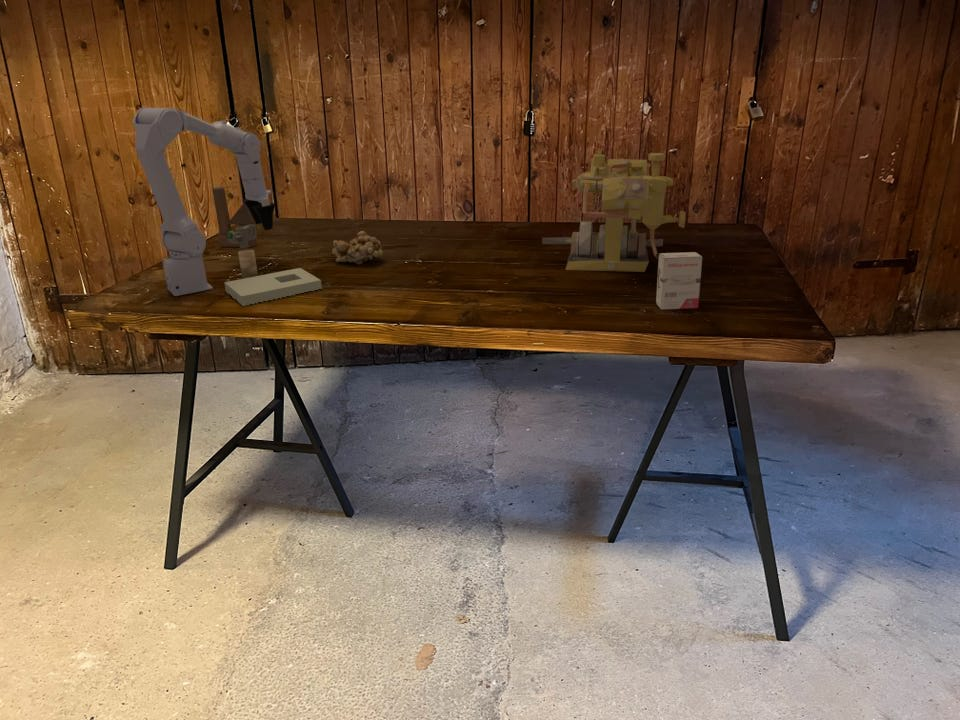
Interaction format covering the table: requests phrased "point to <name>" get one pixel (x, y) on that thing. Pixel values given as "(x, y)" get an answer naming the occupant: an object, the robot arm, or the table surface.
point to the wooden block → (224, 222)
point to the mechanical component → (242, 235)
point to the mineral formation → (357, 249)
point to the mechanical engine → (619, 215)
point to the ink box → (678, 280)
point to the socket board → (272, 286)
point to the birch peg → (247, 263)
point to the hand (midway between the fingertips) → (264, 226)
